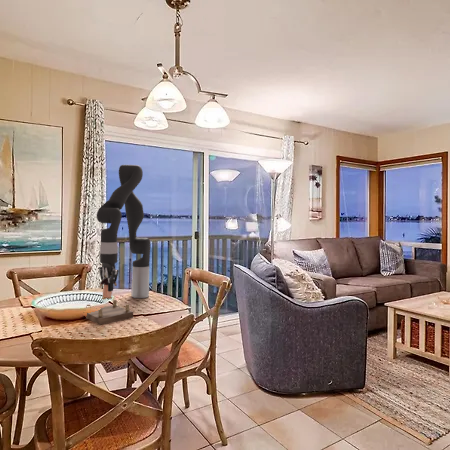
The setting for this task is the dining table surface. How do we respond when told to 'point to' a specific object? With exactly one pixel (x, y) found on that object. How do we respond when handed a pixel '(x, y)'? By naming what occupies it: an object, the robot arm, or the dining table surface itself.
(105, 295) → the grandmother figurine
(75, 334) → the dining table surface
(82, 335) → the dining table surface
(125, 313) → the grey peg board
